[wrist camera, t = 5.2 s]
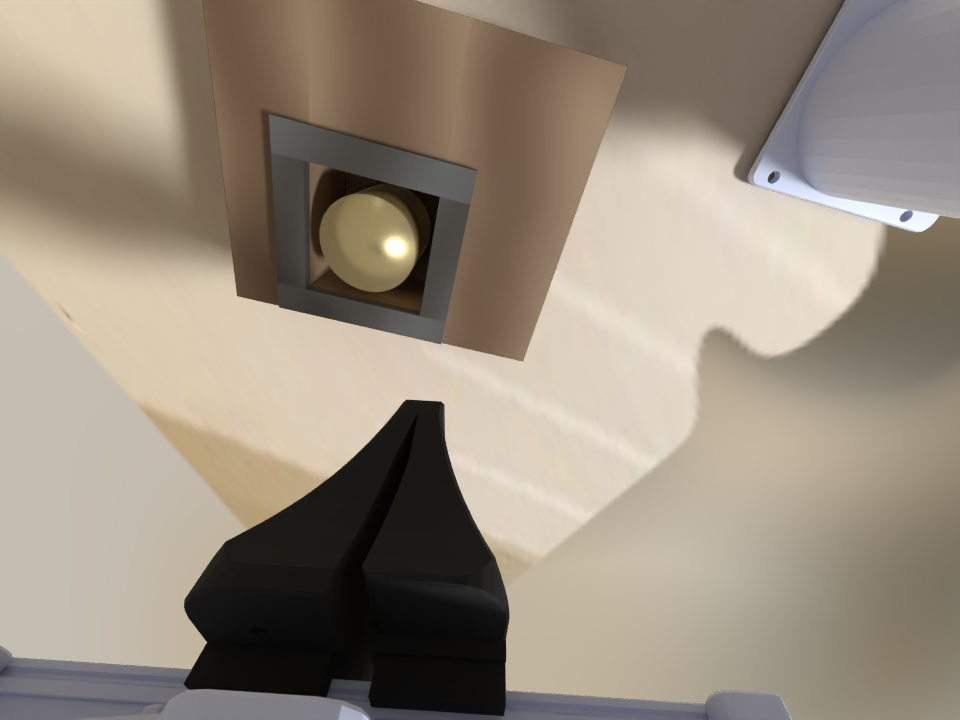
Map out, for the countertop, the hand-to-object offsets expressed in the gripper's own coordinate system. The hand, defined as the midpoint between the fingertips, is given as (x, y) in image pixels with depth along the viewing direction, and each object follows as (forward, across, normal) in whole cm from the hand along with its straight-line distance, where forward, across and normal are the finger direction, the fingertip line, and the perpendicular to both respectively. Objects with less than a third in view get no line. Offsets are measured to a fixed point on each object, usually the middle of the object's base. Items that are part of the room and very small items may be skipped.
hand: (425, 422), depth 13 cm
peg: (+10, +3, -5) cm, 11 cm away
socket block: (+10, +2, -6) cm, 12 cm away
